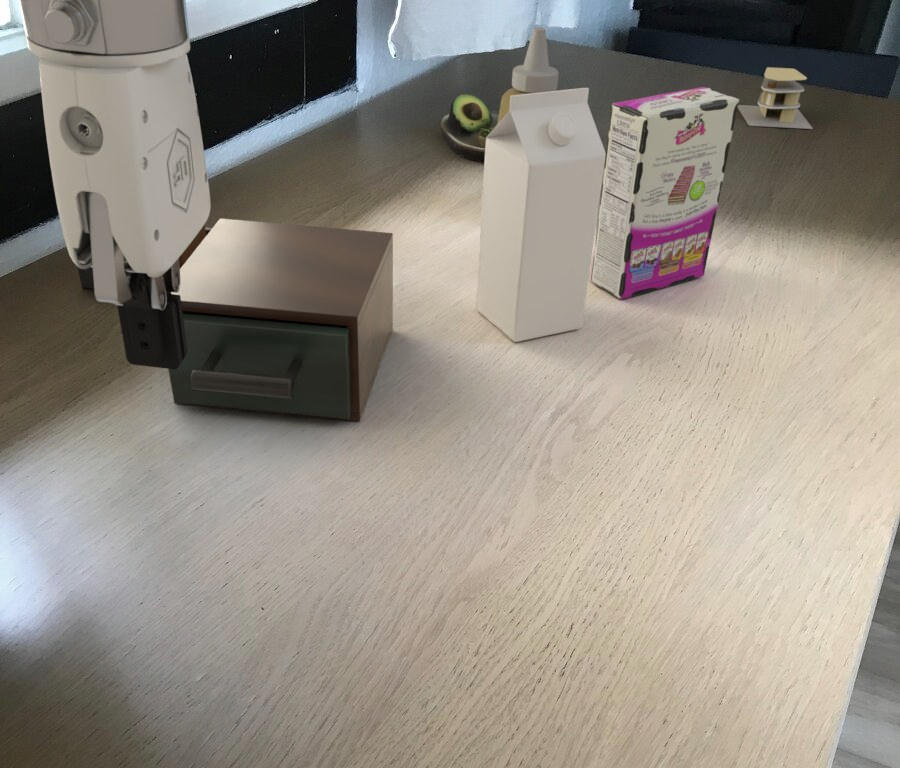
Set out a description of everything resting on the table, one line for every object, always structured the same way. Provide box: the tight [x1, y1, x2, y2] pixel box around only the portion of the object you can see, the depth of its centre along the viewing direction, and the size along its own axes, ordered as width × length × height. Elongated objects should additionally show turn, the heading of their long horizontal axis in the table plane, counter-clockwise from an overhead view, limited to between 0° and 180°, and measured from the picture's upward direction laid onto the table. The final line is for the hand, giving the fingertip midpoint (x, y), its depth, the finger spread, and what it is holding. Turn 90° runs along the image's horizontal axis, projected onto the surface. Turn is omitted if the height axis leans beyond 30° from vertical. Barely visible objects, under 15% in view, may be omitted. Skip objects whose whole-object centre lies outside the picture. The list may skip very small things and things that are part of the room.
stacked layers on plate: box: [737, 66, 814, 130], centre depth 138 cm, size 10×9×6 cm
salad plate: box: [440, 93, 500, 163], centre depth 125 cm, size 19×18×5 cm
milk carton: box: [475, 87, 606, 343], centre depth 83 cm, size 7×7×19 cm
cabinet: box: [168, 218, 394, 423], centre depth 78 cm, size 16×15×9 cm
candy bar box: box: [590, 86, 740, 300], centre depth 91 cm, size 11×5×16 cm, turn 123°
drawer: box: [169, 311, 352, 419], centre depth 75 cm, size 19×13×7 cm
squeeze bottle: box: [498, 27, 560, 123], centre depth 102 cm, size 8×8×18 cm
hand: (157, 359), depth 59 cm, fingers closed
